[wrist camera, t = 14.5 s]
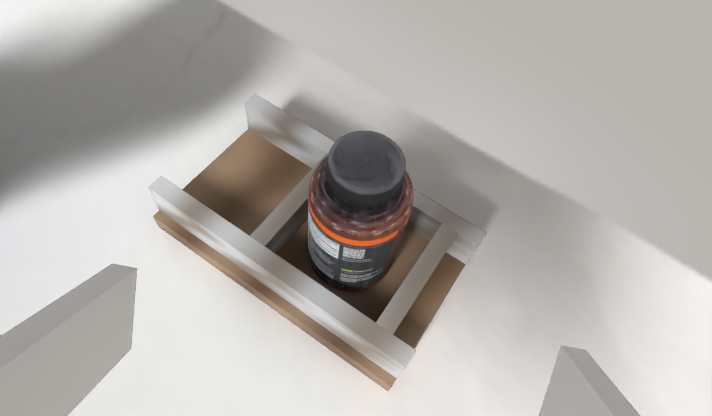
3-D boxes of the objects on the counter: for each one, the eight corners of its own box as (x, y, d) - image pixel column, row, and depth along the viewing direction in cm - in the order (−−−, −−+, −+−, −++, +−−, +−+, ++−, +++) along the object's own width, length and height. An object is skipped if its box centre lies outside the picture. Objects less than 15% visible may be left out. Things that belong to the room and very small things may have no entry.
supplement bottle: (369, 207, 36) (394, 102, 26) (406, 276, 33) (449, 187, 23) (294, 234, 34) (291, 131, 24) (327, 308, 31) (338, 227, 22)
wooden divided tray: (158, 226, 35) (140, 193, 31) (264, 127, 40) (260, 89, 37) (387, 391, 30) (400, 376, 27) (469, 254, 36) (490, 226, 32)
